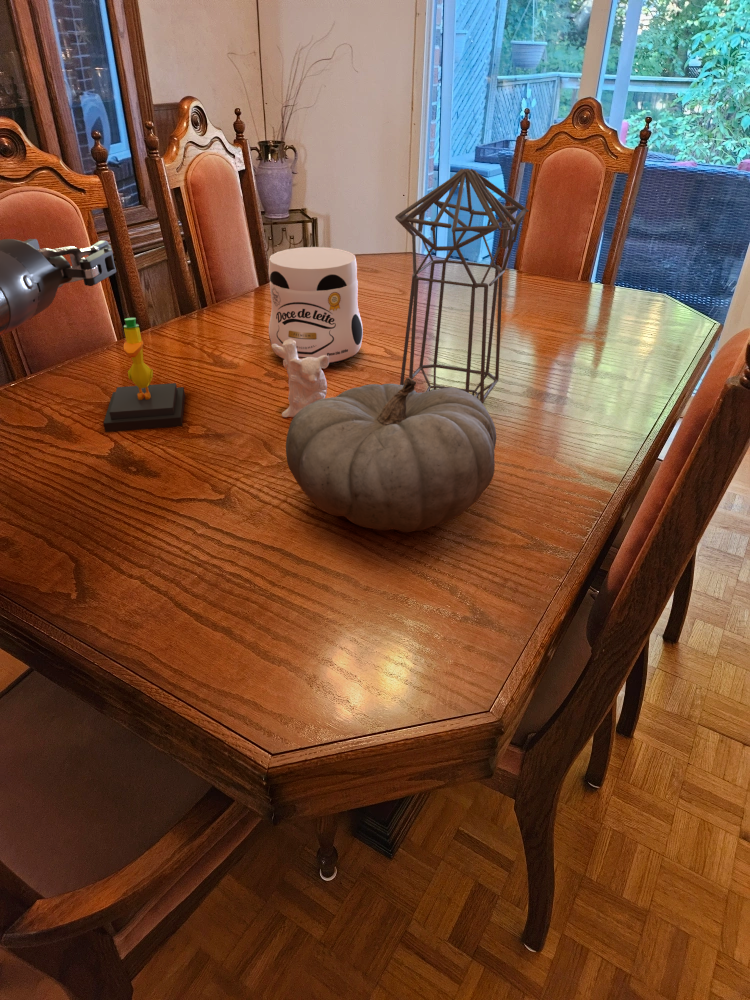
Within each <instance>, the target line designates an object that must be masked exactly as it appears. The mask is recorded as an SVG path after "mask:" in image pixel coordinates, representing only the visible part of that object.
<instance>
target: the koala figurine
mask: <svg viewBox="0 0 750 1000" xmlns="http://www.w3.org/2000/svg"><path fill="white" fill-rule="evenodd" d="M282 345H283V347H281V346H278V345H277V344H272V346H271V349H272V348H273V349H274V350H275V351H276V352H277V353H279V354H280V355H282V356H284V360H283V359H282V364H283V365H282V366H283V367H284V368H285V369H286V372H287V376H288V390H289V391H288V398H287V399H288V403H289V406H288V407H287V408H286V409H285V410H284V411H282V413H281V417H282V418H294V417H295V415H296V414H297V413H298V412H299V411H300V410H301V409H303V408H304V407H305V406H307V405H309V404H311V403H313V402H315V401H316V400H319V399H324V398H327V397H326V396H327V394H328V382H327V378H326V376H325V373H324V371H323V370H322V369H324V370H325V369H327V368H328V367H329V366H330V365H329V357H328V356H327V355H323V356H321V357H318V358H313V357H307V358H303V359H299V358H298V354H297V350H296V342H295V341H294V340H293V339H288V340H286V341H284V343H283V344H282ZM273 349H272V350H273Z"/></svg>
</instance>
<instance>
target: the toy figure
mask: <svg viewBox="0 0 750 1000" xmlns="http://www.w3.org/2000/svg"><path fill="white" fill-rule="evenodd" d="M124 322H125V324H124V325H123V332H124V337H125V341H124V343H123V350H124V352H125V354H126V356H127V357H129V358H131V361H132V364H131V365H130V368H129V369H128V370H127V376H128V380H131V382H132V383H133V384H135V385H134V386H137V387H138V388H139V392H140V393H138V394H137V396H138V399H139V400H142V399H143V398H144V397H145V399H146V400H147V399H150V398H151V395H150V392H149V390H148V386H149V385H151V383H152V381H153V378H154V370H153V368H150V367H149V365H148V364H146V363H145V362H144V348H143V347H144V340H143V339H142V335H141V330H140V327H139V326H140V325H139V324H138V323H137V318H136V317H126V318H124ZM141 388H146V393H143V392H142V389H141Z"/></svg>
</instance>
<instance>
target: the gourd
mask: <svg viewBox="0 0 750 1000" xmlns="http://www.w3.org/2000/svg"><path fill="white" fill-rule="evenodd" d="M404 383H405V384H404V385H400V384H398V383H383V384H380V383H379V384H378V383H371V384H364V385H362V386H359V387H358V386H356V387H352V388H349V389H347V390H344V391H342V392H341V393H339V394H338V395H336V396H332V397H325V398H324V399H319V400H316V401H315V402H313V403H311V404H309V405H307V406H305V407H304V408H303V409H301V410H300V411H299V412H298V413H297V414H296V415H295V417H292V420H291V421H290V424H289V426H288V430H287V432H286V433H287V434H286V440H285V456H286V462H287V466H288V468H289V470H290V472H291V474H292V476H293V478H294V479H295V481H296V483H297V484H298V485H299V487H300V488H301V490H302V491H303V492H304V493H305V496H307V497H308V498H309V500H311V502H312V503H314V505H315V506H316V507H318V508H319V509H320V510H322V511H323V512H325V513H327V514H329V515H332V516H335V517H345V518H346V519H347V520H348V521H349V522H351V523H352V524H354V525H357V526H359V527H362V528H364V529H365V528H366V529H373V530H375V531H376V530H377V531H389V530H396V531H398V532H401V533H411V532H421V531H424V530H427V529H429V528H432V527H435V526H439V525H442V524H444V523H447V522H450V521H451V520H454V519H455V518H457V517H459V516H461V515H462V514H463V513H464V512H465V511H466V510H468V509H469V508H470V507H471V506H473V505H474V504H475V503H476V502H477V501H478V500H479V499H480V497H481V496H482V494H483V493H484V492H485V491H486V489H487V488H488V486H489V485H490V484H491V482H492V481H493V478H494V476H495V467H496V462H495V449H496V445H497V431H496V426H495V423H494V420H493V419H492V416H491V415H490V413H489V411H488V410H487V408H486V406H485V405H484V403H481V401H480V398H479V397H478V398H476V397H475V396H476V395H474V396H473V395H472V393H470V392H469V393H467V392H465V391H463V390H459V389H456V388H457V387H452V388H442V389H441V388H437V389H436V390H434V389H432V390H430V391H427V390H426V391H427V392H426V391H424V392H417V391H416V390H415V387H416V385H417V381H416V380H414V379H413V380H412V379H411V378H409V377H405V379H404Z"/></svg>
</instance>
